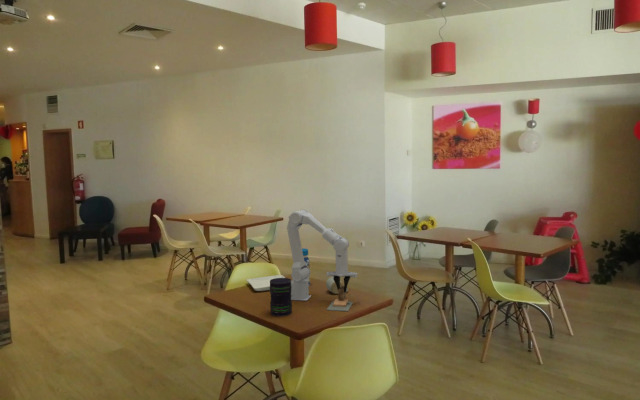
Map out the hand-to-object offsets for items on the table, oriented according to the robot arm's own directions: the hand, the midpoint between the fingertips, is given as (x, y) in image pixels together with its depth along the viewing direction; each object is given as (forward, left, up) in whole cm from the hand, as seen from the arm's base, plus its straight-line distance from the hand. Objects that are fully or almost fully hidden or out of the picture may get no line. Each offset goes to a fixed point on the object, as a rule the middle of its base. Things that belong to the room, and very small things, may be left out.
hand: (342, 291), depth 226 cm
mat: (0, -5, -6) cm, 8 cm away
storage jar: (-25, -19, -6) cm, 32 cm away
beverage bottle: (-28, +28, -6) cm, 40 cm away
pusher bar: (0, 0, -3) cm, 3 cm away
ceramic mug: (-6, +18, -6) cm, 20 cm away
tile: (0, -1, -4) cm, 4 cm away
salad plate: (-46, +23, -6) cm, 51 cm away
